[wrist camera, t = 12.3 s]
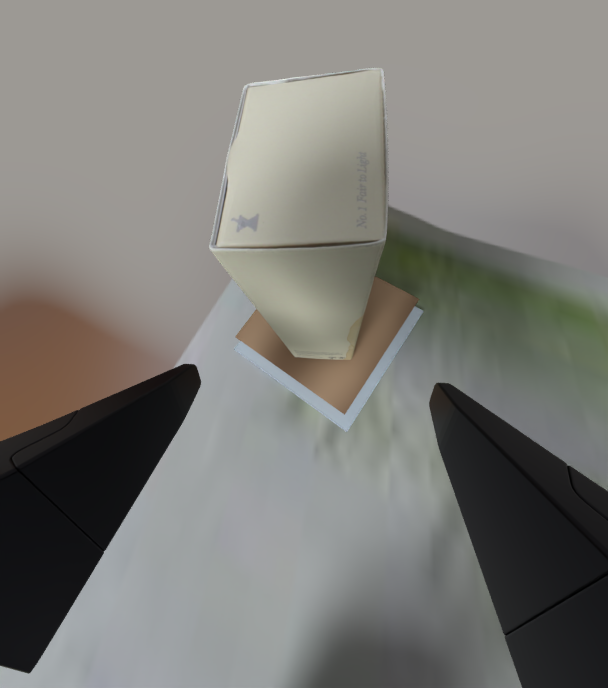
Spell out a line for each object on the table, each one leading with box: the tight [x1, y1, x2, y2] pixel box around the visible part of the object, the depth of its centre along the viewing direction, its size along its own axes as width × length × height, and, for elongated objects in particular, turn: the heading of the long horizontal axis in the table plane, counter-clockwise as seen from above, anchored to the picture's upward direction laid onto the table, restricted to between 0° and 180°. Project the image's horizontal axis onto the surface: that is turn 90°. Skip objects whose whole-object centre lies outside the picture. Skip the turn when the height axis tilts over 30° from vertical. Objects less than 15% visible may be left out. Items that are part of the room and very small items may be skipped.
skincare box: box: [209, 68, 388, 360], centre depth 12 cm, size 6×4×12 cm
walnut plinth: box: [236, 276, 419, 415], centre depth 19 cm, size 10×10×3 cm
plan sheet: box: [234, 307, 424, 432], centre depth 21 cm, size 12×12×1 cm
